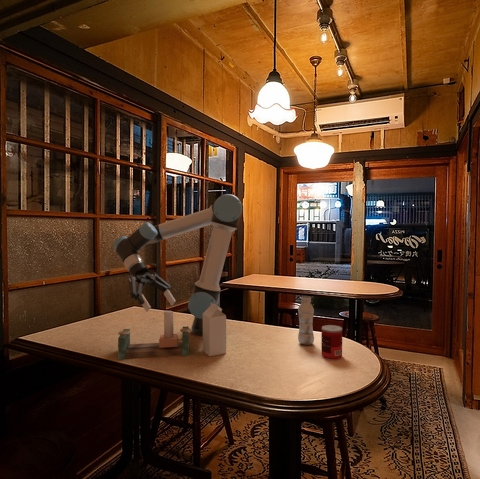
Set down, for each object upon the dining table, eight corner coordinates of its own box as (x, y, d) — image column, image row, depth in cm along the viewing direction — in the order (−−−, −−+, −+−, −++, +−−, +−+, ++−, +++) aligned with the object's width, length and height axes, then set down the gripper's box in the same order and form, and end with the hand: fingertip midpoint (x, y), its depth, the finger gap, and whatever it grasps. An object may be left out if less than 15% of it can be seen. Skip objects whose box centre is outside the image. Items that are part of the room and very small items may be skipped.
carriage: (178, 341, 144) (177, 309, 143) (177, 346, 137) (177, 313, 136) (160, 341, 143) (160, 310, 142) (159, 347, 136) (158, 314, 135)
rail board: (191, 345, 147) (190, 325, 147) (191, 355, 135) (191, 333, 135) (121, 348, 143) (121, 328, 143) (115, 359, 131) (115, 337, 131)
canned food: (343, 354, 136) (343, 326, 136) (340, 361, 129) (340, 331, 129) (323, 351, 140) (323, 324, 139) (319, 358, 132) (319, 329, 132)
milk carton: (209, 356, 134) (209, 307, 133) (202, 351, 140) (202, 303, 139) (226, 353, 137) (226, 305, 136) (218, 348, 143) (218, 302, 143)
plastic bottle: (314, 347, 145) (314, 298, 144) (297, 346, 146) (297, 298, 145) (314, 342, 151) (314, 295, 150) (298, 341, 152) (298, 295, 152)
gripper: (154, 270, 162) (178, 306, 154) (107, 276, 141) (132, 318, 133) (162, 259, 159) (187, 295, 151) (115, 263, 138) (141, 306, 130)
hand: (161, 306), depth 142 cm, fingers open, 13 cm apart
